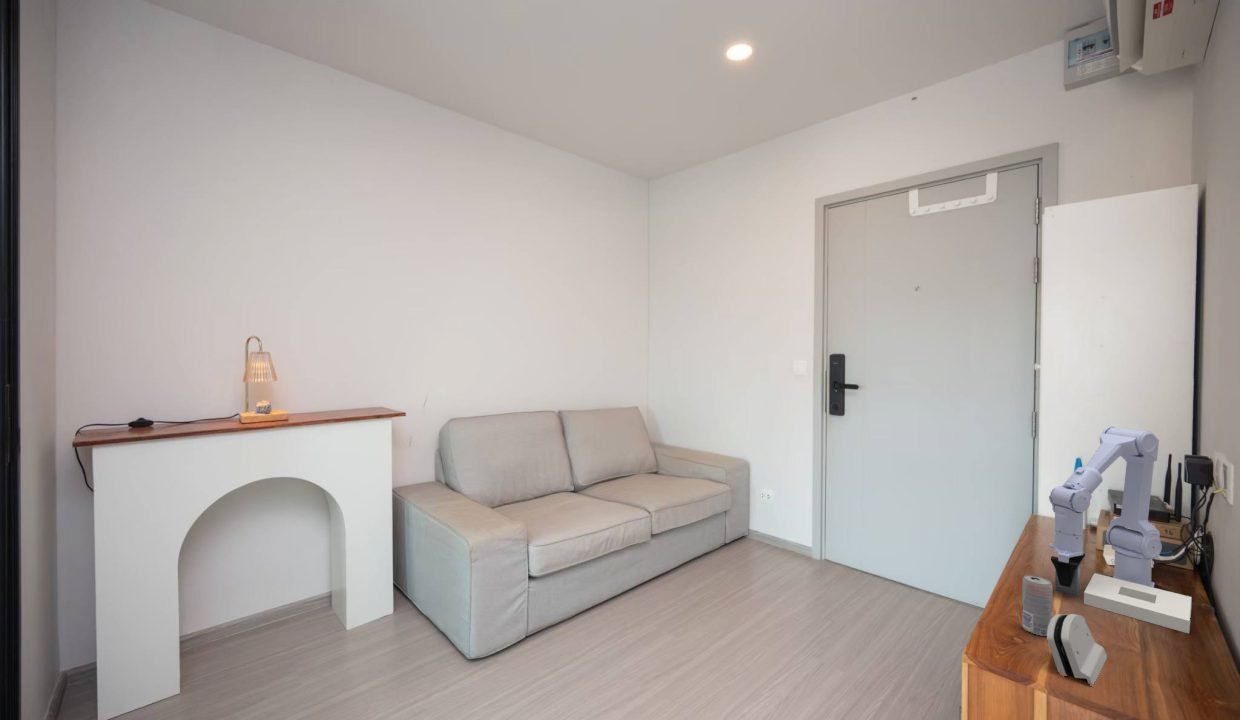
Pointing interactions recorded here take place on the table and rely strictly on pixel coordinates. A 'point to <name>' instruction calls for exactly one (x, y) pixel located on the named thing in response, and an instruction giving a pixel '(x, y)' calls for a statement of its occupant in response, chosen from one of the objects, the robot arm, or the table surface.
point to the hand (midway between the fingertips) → (1067, 581)
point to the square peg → (1075, 585)
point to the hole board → (1139, 602)
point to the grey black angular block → (1075, 647)
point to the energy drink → (1036, 604)
